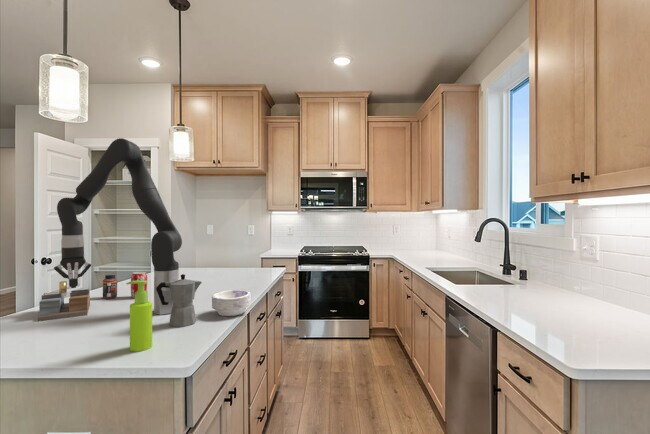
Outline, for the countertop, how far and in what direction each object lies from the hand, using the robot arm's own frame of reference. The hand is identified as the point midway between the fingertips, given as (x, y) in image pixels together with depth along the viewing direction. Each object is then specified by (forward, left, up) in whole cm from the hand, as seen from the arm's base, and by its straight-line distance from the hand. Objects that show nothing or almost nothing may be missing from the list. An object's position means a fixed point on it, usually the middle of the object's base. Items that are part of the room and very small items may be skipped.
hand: (73, 287), depth 140 cm
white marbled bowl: (-38, -55, -10) cm, 67 cm away
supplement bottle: (+19, -13, -10) cm, 25 cm away
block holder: (0, +2, -10) cm, 10 cm away
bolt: (0, +6, -3) cm, 7 cm away
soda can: (+13, -25, -10) cm, 29 cm away
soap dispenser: (-59, -21, -10) cm, 63 cm away
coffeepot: (-41, -35, -10) cm, 55 cm away
